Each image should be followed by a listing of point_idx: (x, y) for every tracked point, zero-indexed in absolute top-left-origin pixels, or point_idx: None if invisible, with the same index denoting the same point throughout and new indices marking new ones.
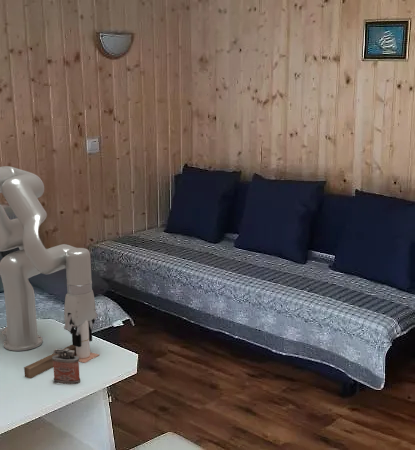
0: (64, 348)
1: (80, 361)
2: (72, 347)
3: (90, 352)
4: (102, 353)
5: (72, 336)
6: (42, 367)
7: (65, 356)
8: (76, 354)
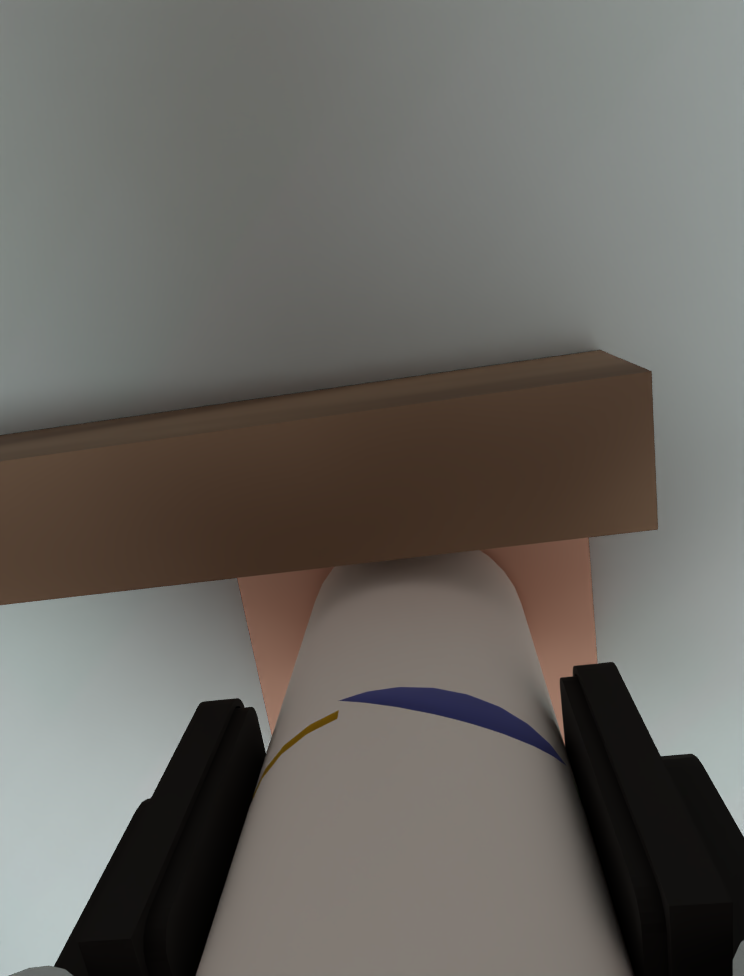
0: (167, 452)
1: (270, 724)
2: (306, 537)
3: (583, 614)
4: (683, 737)
5: (66, 950)
6: None
7: None
8: (314, 607)
